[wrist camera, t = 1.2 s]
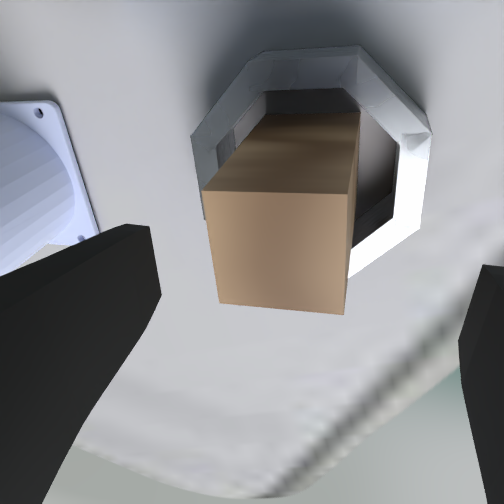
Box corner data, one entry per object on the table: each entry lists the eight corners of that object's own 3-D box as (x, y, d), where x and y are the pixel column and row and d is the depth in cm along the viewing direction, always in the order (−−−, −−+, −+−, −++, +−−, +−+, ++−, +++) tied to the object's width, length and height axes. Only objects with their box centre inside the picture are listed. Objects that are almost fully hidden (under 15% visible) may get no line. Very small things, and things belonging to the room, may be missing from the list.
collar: (227, 242, 22) (211, 268, 20) (201, 54, 18) (177, 65, 16) (409, 252, 20) (412, 283, 18) (435, 39, 15) (444, 49, 13)
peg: (271, 199, 21) (219, 303, 14) (265, 114, 18) (201, 190, 12) (356, 201, 19) (343, 315, 13) (360, 112, 17) (347, 194, 11)
